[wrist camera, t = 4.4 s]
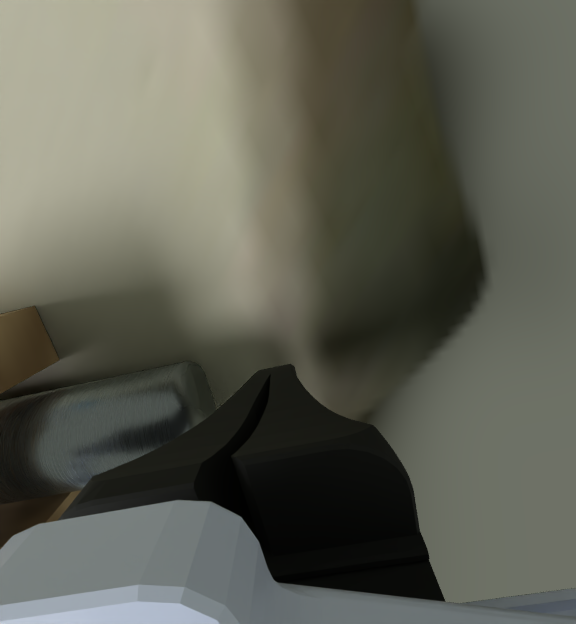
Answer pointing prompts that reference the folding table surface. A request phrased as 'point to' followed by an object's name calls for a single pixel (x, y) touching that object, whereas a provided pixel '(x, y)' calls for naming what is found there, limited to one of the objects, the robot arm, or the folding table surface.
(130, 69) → the folding table surface
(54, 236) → the folding table surface
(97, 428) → the axle
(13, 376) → the beam
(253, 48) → the folding table surface
